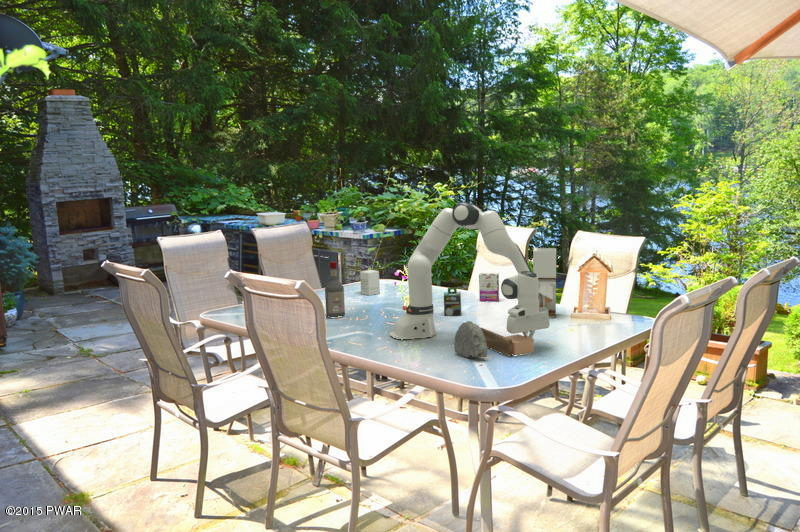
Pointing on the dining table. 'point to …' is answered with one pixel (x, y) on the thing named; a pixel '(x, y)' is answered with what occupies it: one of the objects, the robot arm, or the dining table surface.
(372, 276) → the supplement box
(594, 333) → the dining table surface
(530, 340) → the block
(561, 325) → the dining table surface
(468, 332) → the decorative rock
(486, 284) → the candy bar box
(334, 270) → the liquor
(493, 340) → the board
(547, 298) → the display case
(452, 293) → the chalk box
